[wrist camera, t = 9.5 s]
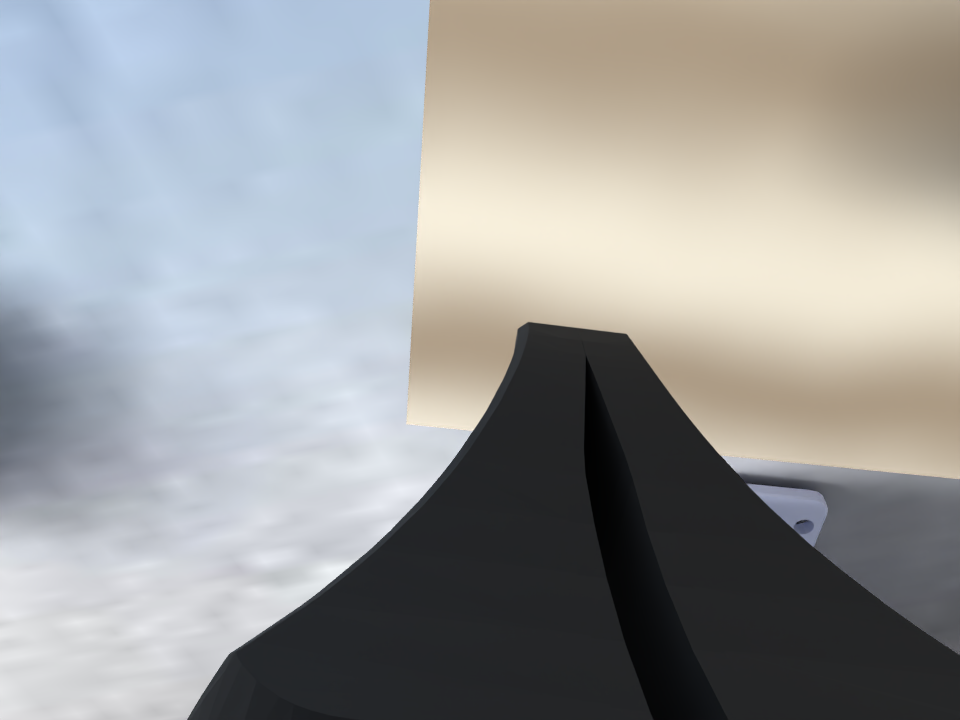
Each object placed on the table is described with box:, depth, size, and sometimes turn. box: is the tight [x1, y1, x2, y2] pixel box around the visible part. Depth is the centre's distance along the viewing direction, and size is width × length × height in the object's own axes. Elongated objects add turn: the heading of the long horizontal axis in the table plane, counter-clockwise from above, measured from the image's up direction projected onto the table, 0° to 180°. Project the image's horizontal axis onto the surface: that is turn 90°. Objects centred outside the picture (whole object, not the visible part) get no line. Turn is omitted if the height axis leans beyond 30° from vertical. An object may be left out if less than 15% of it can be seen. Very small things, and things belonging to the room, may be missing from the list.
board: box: [406, 0, 960, 479], centre depth 16 cm, size 16×14×3 cm
